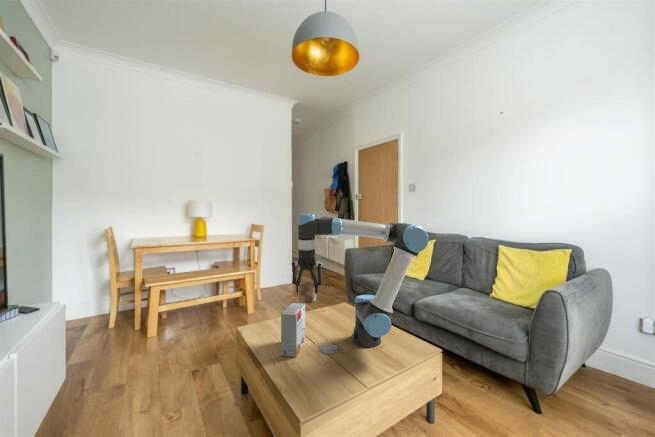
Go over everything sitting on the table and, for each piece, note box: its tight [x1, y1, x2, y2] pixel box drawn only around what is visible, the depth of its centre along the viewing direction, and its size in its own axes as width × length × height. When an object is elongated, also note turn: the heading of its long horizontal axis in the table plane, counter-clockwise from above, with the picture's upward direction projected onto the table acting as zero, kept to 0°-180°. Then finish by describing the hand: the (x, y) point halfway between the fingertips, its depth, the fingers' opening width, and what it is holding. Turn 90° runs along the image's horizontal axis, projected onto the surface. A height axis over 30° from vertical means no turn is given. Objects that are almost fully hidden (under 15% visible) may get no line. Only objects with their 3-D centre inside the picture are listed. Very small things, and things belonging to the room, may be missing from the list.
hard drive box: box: [280, 302, 306, 358], centre depth 131 cm, size 16×8×20 cm, turn 168°
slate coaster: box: [319, 342, 339, 355], centre depth 131 cm, size 9×9×1 cm
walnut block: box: [298, 280, 315, 305], centre depth 120 cm, size 6×6×8 cm
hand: (307, 299), depth 120 cm, fingers closed on walnut block, 6 cm apart
